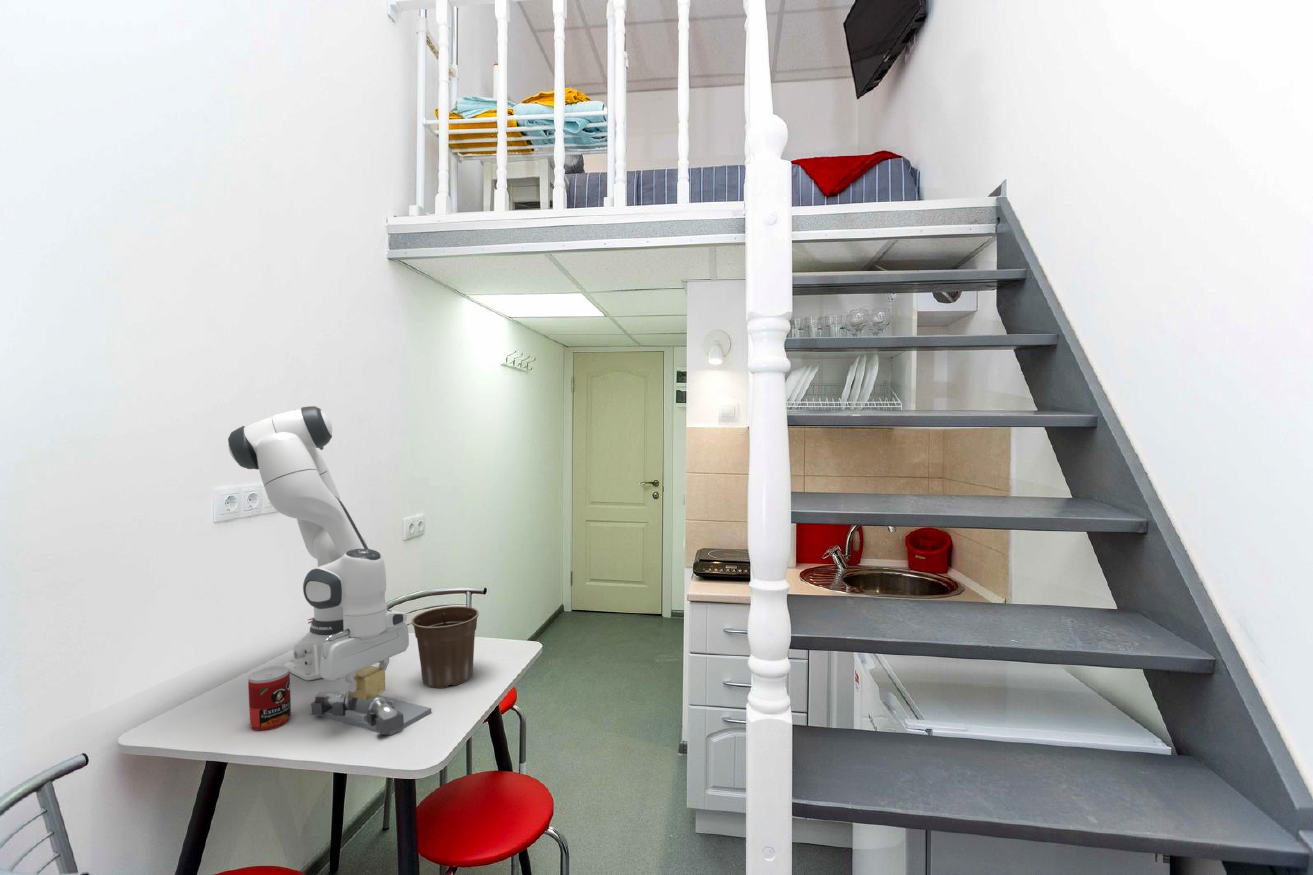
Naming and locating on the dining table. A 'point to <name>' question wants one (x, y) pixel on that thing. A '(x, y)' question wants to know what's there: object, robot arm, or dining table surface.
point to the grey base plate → (359, 718)
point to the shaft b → (383, 715)
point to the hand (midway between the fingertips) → (367, 684)
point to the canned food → (269, 698)
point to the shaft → (333, 703)
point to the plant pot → (446, 644)
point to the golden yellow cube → (370, 682)
